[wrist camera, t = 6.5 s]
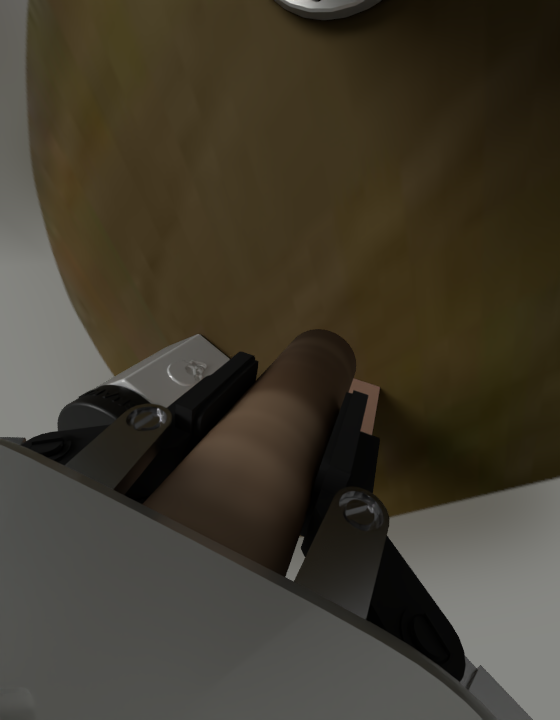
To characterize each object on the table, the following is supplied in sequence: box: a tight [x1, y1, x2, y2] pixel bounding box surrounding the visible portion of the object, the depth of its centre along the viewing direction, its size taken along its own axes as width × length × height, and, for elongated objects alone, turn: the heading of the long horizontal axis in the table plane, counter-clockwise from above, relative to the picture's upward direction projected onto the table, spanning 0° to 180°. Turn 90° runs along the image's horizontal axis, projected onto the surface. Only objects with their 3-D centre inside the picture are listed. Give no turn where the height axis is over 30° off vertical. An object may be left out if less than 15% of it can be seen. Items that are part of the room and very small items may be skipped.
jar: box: [58, 334, 230, 431], centre depth 26 cm, size 9×8×12 cm
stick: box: [142, 329, 356, 577], centre depth 10 cm, size 3×3×12 cm
